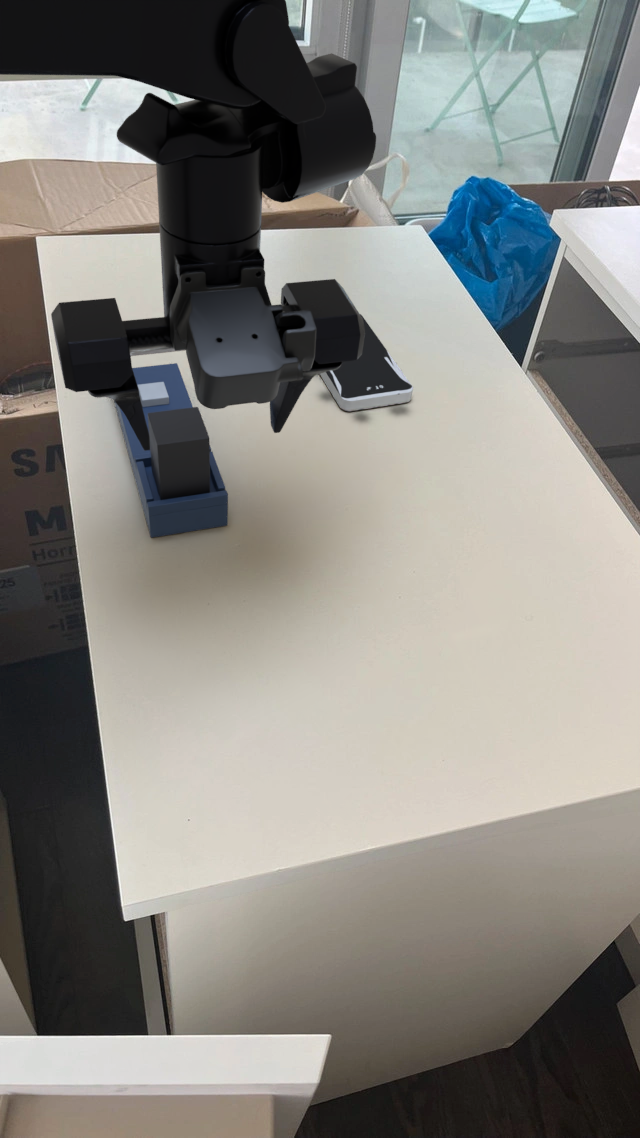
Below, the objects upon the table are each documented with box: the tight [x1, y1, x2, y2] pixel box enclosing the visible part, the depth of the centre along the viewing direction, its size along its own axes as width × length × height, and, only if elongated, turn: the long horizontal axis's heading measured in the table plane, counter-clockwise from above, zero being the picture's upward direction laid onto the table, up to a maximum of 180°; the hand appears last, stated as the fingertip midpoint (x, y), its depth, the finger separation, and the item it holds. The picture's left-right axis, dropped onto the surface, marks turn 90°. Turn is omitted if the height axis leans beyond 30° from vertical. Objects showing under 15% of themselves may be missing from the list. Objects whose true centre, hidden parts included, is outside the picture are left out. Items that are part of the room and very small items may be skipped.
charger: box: [148, 406, 211, 500], centre depth 68 cm, size 4×4×6 cm
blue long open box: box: [113, 362, 229, 539], centre depth 75 cm, size 6×20×4 cm, turn 18°
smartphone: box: [319, 313, 414, 412], centre depth 87 cm, size 8×1×15 cm
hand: (211, 437), depth 59 cm, fingers open, 9 cm apart
